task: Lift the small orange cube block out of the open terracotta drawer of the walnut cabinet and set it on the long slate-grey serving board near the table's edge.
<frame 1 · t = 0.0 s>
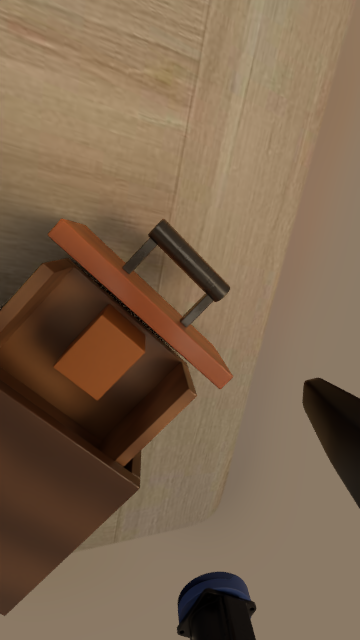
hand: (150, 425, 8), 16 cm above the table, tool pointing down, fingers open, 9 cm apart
drawer: (111, 341, 20), point 4 cm above the table, slide at 8.0 cm, touching orange cube block
orange cube block: (106, 341, 22), point 2 cm above the table, touching drawer
cabinet: (23, 424, 25), on the table
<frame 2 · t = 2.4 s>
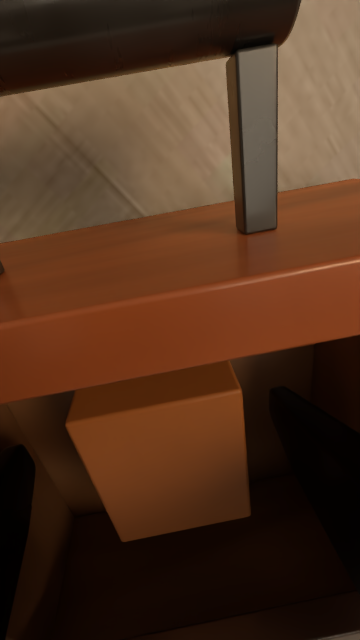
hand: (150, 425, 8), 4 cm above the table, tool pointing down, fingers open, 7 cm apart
drawer: (162, 399, 8), point 4 cm above the table, slide at 8.3 cm, touching orange cube block, gripper
orange cube block: (163, 379, 10), point 2 cm above the table, touching drawer
cabinet: (196, 505, 17), on the table
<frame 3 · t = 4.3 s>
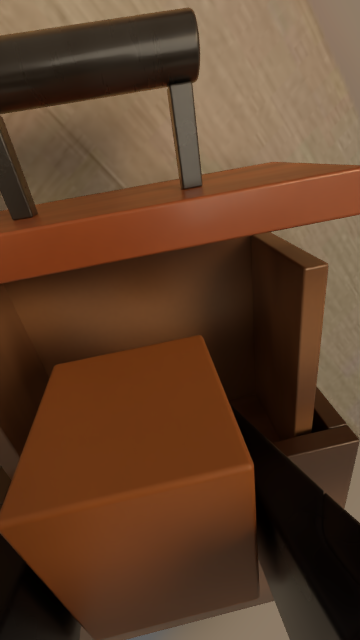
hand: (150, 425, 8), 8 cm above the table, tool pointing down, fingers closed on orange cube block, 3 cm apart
drawer: (140, 314, 12), point 4 cm above the table, slide at 8.3 cm
orange cube block: (147, 415, 8), point 8 cm above the table, touching gripper
cabinet: (175, 437, 21), on the table
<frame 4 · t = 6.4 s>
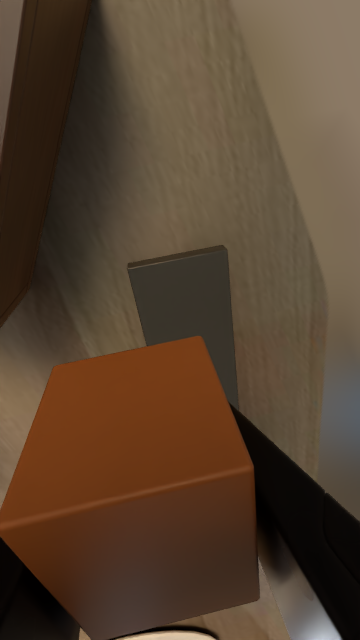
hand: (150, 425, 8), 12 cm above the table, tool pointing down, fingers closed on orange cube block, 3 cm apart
board: (202, 421, 26), on the table
orange cube block: (147, 416, 8), point 12 cm above the table, touching gripper
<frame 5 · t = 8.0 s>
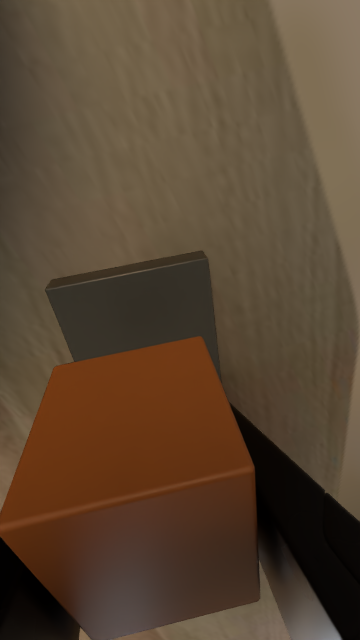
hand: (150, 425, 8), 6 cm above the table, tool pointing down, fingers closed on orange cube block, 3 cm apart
board: (182, 487, 19), on the table
orange cube block: (148, 416, 8), point 5 cm above the table, touching gripper
when the fingers open (1 cm above the table, at t = 9.5 s): orange cube block stays where it is, resting on board.
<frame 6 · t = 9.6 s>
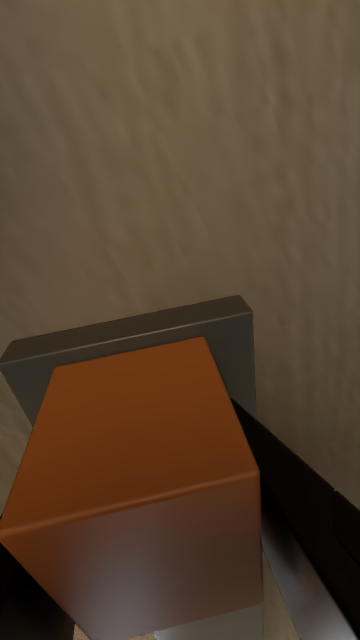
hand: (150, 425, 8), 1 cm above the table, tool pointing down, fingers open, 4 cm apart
board: (197, 570, 15), on the table
orange cube block: (149, 417, 8), point 1 cm above the table, touching board
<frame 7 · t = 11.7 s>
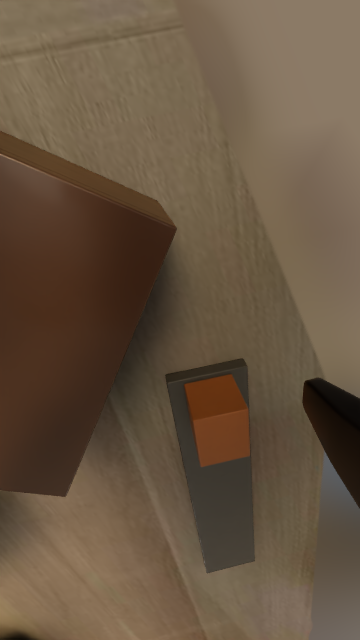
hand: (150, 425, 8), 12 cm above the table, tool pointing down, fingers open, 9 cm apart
board: (219, 485, 30), on the table
orange cube block: (210, 401, 23), point 1 cm above the table, touching board
cabinet: (1, 277, 17), on the table
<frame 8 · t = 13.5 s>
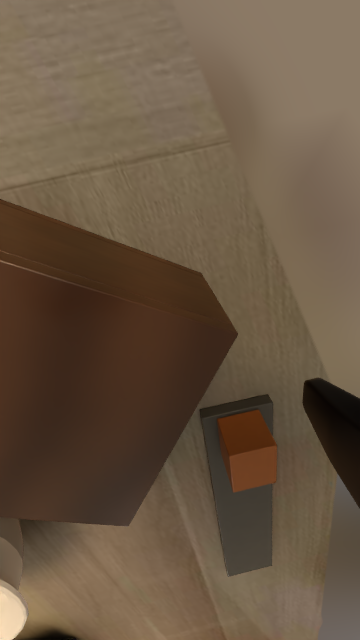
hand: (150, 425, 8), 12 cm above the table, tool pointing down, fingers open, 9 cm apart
board: (242, 500, 33), on the table
orange cube block: (239, 432, 26), point 1 cm above the table, touching board
cabinet: (66, 337, 20), on the table
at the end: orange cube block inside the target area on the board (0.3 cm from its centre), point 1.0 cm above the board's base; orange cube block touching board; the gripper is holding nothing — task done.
